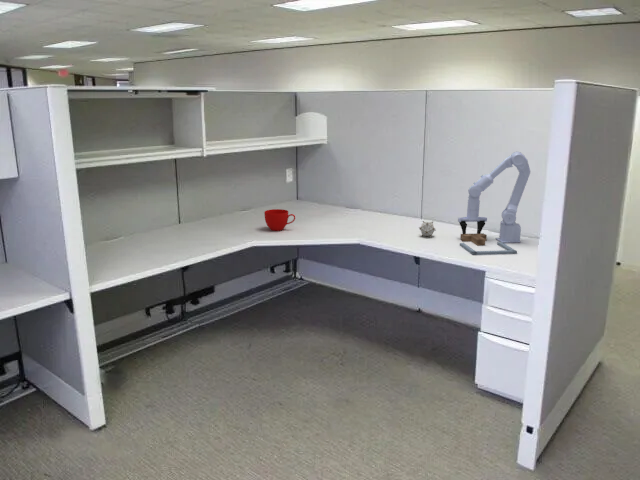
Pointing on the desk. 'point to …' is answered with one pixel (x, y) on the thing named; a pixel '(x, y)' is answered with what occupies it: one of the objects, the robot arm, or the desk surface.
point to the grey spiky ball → (427, 229)
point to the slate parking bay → (507, 251)
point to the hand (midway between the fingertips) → (471, 235)
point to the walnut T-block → (474, 238)
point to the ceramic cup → (277, 219)
